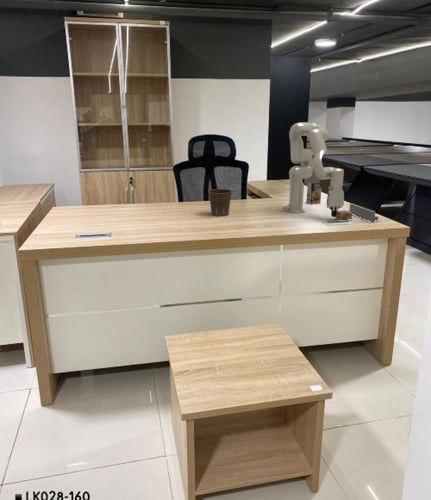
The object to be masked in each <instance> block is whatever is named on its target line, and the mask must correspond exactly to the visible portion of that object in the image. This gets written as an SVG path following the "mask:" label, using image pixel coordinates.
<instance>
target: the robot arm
mask: <svg viewBox="0 0 431 500" xmlns="http://www.w3.org/2000/svg"><path fill="white" fill-rule="evenodd" d="M288 134H289V141H290V143H289V144H290V160H291V162H292V163H293V164H296V165H294V166H292V167H291V168H290V169H289V171H288V175H289V176H288V177H289V198H288V199H289V201H288V204H287V205H285V206H284V205H283V206H282V207H281V208H282V209H283V210H286V212H287V213H292V214H302V213H305V212H306V211H305V209H304V208H303V205H304V192H305V191H304V189H305V187H304V185H305V183H304V182H303V180H306V179H310V178H311V177H312V175H313V173H314V175H315V177H316V178H317V179H318V180H321V181H323V180H330V183H329V184H330V185H329V186H328V187H327V189H328V191H327V196H326V208H327V209H329V210H330V211H331V215H330V216H331V217H332V218H336V215H337V211H339V210H340V208H343V206H345V205H344V204H345V193H344V190H343V184H344V176H345V175H344V174H345V173H344V172H345V171H344V169H343V168H338V167H334V166H333V167H332V166H326V167H324V166H323V165H324V164H323V161H322V158H323V156H324V155H325V154H326V153H327V152H328V149H327V145H326V143H325V142H326V141H328V139H329V132H328V129H326V128H325V127H323V126H320V125H319V124H316V123H314V122H312V121H311V122H310V121H309V122H308V121H307V122H305V121H304V122H296V123H294V124H292V126H291V127H290V130H289V132H288ZM302 136H305V137H306V136H307V137H308V141H309V143H310V146H311V149H312V152H313V153H312V152H311V150H309V148H304V141H303V138H302ZM297 164H298V165H297ZM299 164H300V165H299Z"/></svg>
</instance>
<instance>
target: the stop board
mask: <svg viewBox="0 0 431 500" xmlns="http://www.w3.org/2000/svg"><path fill="white" fill-rule="evenodd" d="M348 211H349V212H351V213H352V214H354V215H356V216H358V217H361V218H364V219H366V220H369V221H371V222H374V221H375V220H379V216H377V215H376V211H375V210H373V209H369V208H366V207H363V206H360V205H357V204H355V203H350V204H349V209H348ZM356 216H355V217H356ZM358 217H357V218H358ZM361 218H360V219H361ZM366 220H365V221H366ZM371 222H370V223H371ZM374 223H375V222H374Z"/></svg>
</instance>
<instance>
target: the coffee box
mask: <svg viewBox="0 0 431 500" xmlns="http://www.w3.org/2000/svg"><path fill="white" fill-rule="evenodd" d="M322 185H323V182H320V181H309V182H307V187H306V201H305V203H306V204H308V205H318V204H319V205H320V204H321V199H322V190H323V188H322V187H323V186H322Z"/></svg>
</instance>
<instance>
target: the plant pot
mask: <svg viewBox="0 0 431 500" xmlns="http://www.w3.org/2000/svg"><path fill="white" fill-rule="evenodd" d="M207 192H208V196H209V205H210V213H211V214H210V215H212V216H214V217H215V216H216V217H223V216H224V217H227V216H228V215H230V206H231V199H232V193H233V190H231V189H228V188H227V189H225V188H223V189H222V188H214V189H209V190H208V191H207Z"/></svg>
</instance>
